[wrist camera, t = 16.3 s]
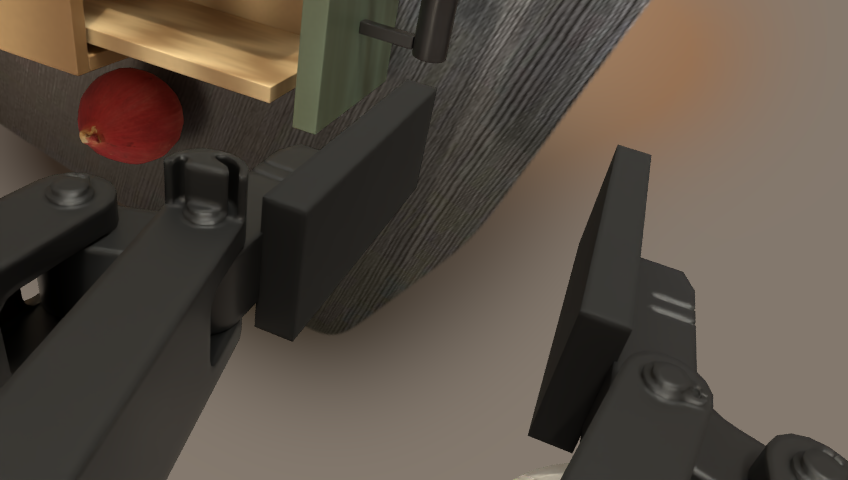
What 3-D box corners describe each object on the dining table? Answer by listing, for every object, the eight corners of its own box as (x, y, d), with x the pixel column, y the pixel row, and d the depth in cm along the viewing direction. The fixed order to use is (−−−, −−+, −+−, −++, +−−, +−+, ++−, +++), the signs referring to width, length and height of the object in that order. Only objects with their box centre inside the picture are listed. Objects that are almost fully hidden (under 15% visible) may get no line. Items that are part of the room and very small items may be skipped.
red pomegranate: (179, 155, 46) (96, 205, 39) (120, 89, 45) (24, 129, 38) (224, 108, 43) (141, 153, 36) (161, 36, 42) (64, 70, 35)
